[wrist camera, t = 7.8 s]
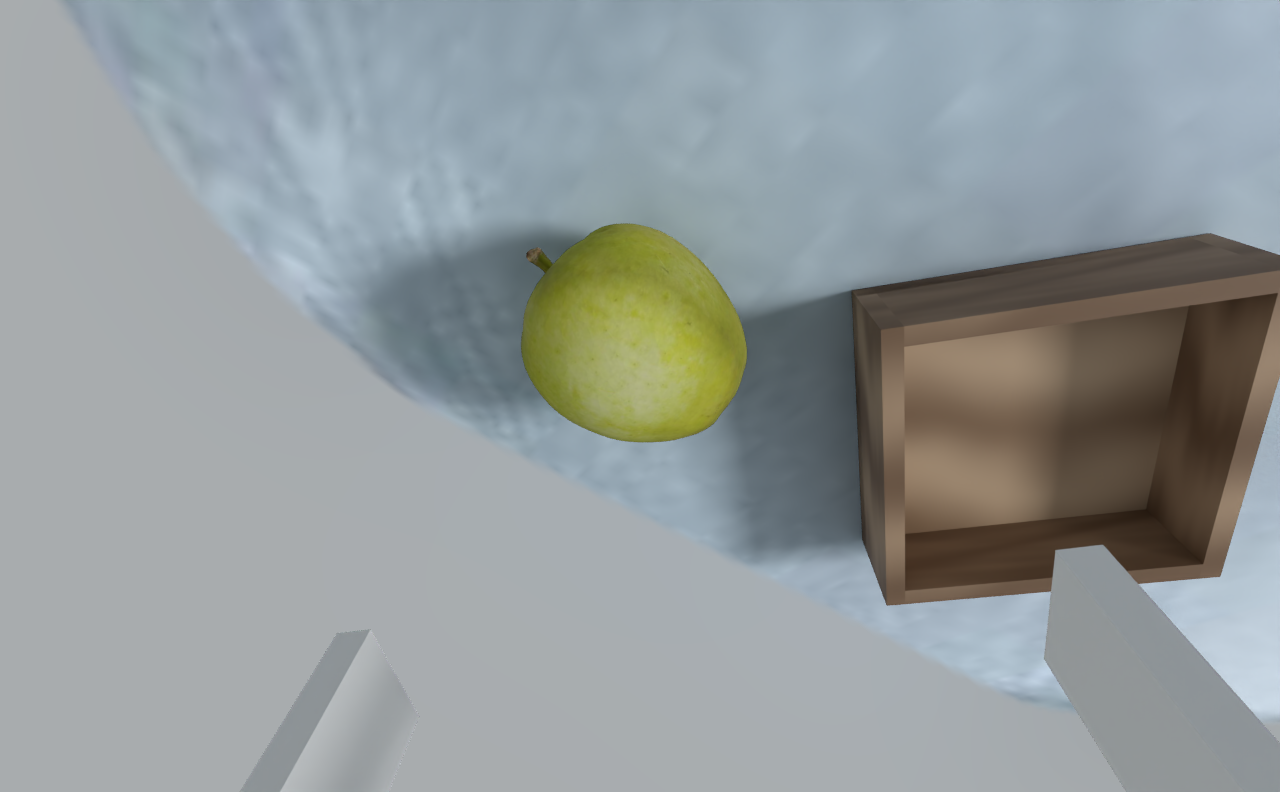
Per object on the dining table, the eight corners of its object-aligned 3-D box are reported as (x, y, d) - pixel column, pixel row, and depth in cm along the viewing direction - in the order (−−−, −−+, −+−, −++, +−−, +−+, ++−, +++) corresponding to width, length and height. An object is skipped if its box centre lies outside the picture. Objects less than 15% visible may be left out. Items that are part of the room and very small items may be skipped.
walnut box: (851, 290, 26) (881, 329, 22) (1210, 233, 24) (1312, 265, 20) (862, 539, 32) (886, 605, 28) (1150, 510, 30) (1220, 576, 26)
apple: (585, 159, 25) (545, 195, 18) (772, 279, 26) (803, 356, 19) (501, 316, 28) (439, 399, 21) (672, 414, 30) (668, 521, 23)
